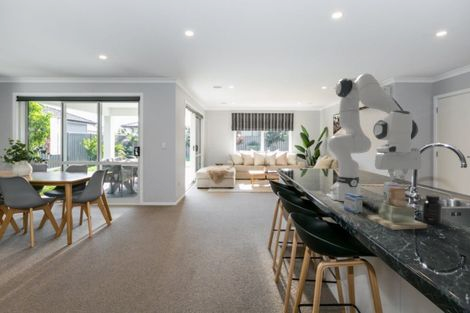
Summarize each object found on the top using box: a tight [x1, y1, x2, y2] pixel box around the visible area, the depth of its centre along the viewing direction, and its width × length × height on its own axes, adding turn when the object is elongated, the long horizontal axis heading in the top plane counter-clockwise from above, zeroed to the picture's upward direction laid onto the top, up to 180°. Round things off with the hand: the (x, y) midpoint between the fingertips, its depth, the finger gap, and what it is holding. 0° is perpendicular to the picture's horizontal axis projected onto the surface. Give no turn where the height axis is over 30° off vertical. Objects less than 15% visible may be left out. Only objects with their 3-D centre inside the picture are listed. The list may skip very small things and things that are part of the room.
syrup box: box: [382, 181, 400, 203], centre depth 139 cm, size 6×6×14 cm
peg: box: [388, 186, 406, 207], centre depth 118 cm, size 4×4×10 cm
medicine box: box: [343, 193, 364, 214], centre depth 138 cm, size 8×4×9 cm, turn 23°
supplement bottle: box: [421, 194, 443, 225], centre depth 120 cm, size 7×7×12 cm
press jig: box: [366, 202, 428, 231], centre depth 119 cm, size 16×16×8 cm
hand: (397, 179), depth 118 cm, fingers open, 3 cm apart
